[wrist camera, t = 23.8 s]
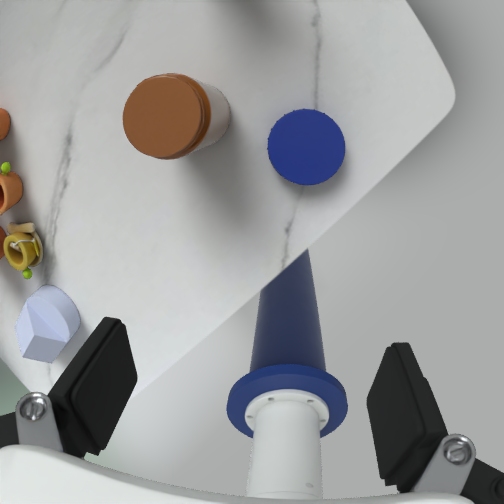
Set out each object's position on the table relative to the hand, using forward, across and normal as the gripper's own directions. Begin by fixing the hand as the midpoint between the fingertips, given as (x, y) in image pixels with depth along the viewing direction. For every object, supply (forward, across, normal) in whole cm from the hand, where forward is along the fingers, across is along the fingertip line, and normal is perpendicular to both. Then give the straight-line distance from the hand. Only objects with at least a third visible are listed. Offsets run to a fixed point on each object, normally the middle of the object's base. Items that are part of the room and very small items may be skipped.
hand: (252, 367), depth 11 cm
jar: (+24, +8, -8) cm, 27 cm away
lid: (+23, -3, -5) cm, 24 cm away
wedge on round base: (+24, +33, +20) cm, 46 cm away
